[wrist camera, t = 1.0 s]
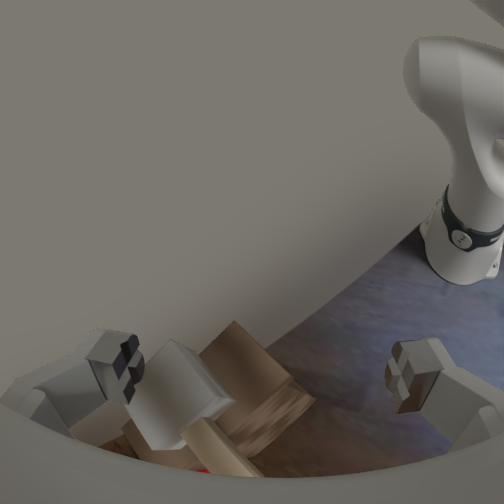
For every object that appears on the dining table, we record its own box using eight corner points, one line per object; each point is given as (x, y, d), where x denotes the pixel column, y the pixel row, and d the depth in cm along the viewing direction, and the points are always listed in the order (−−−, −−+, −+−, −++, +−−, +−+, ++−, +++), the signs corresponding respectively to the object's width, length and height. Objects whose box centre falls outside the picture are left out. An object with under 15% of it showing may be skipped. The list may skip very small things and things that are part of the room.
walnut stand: (293, 369, 46) (233, 320, 26) (323, 396, 42) (289, 374, 22) (226, 432, 44) (121, 428, 23) (252, 461, 39) (158, 485, 19)
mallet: (195, 351, 25) (170, 338, 22) (319, 481, 16) (311, 493, 13) (145, 399, 24) (117, 392, 21) (251, 529, 15) (232, 545, 12)
